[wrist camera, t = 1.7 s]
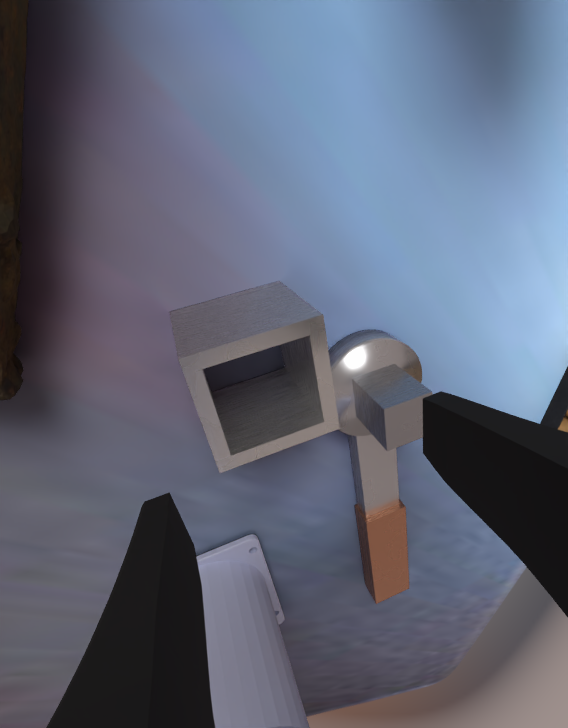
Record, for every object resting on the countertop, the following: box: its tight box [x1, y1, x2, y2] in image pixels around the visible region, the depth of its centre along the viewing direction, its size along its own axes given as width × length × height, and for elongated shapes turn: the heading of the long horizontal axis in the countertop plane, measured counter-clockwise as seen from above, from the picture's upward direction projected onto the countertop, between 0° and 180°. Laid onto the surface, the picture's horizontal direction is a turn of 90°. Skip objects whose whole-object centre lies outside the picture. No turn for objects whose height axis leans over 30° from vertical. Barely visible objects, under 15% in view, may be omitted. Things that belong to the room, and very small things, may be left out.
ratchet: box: [328, 330, 432, 604], centre depth 23 cm, size 21×6×4 cm, turn 12°
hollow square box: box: [170, 281, 340, 473], centre depth 16 cm, size 5×5×5 cm
